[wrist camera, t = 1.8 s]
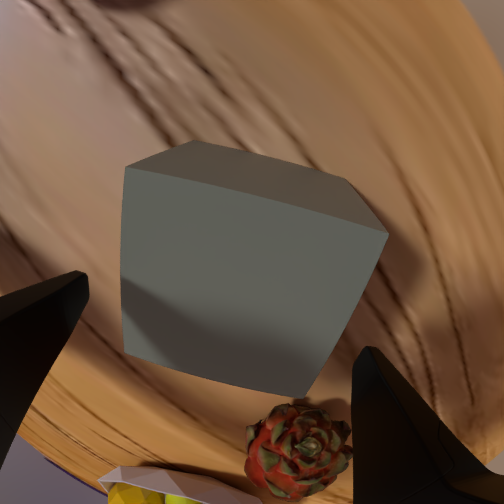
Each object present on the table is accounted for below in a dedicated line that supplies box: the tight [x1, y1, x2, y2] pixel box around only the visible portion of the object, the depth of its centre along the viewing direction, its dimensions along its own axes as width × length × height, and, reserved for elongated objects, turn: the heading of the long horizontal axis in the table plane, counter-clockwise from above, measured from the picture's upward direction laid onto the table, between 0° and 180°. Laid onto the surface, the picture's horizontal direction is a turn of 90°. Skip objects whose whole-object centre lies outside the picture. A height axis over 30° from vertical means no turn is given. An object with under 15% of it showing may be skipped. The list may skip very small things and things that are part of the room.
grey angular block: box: [120, 140, 389, 399], centre depth 12 cm, size 8×8×7 cm
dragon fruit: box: [244, 403, 353, 502], centre depth 20 cm, size 8×8×12 cm
